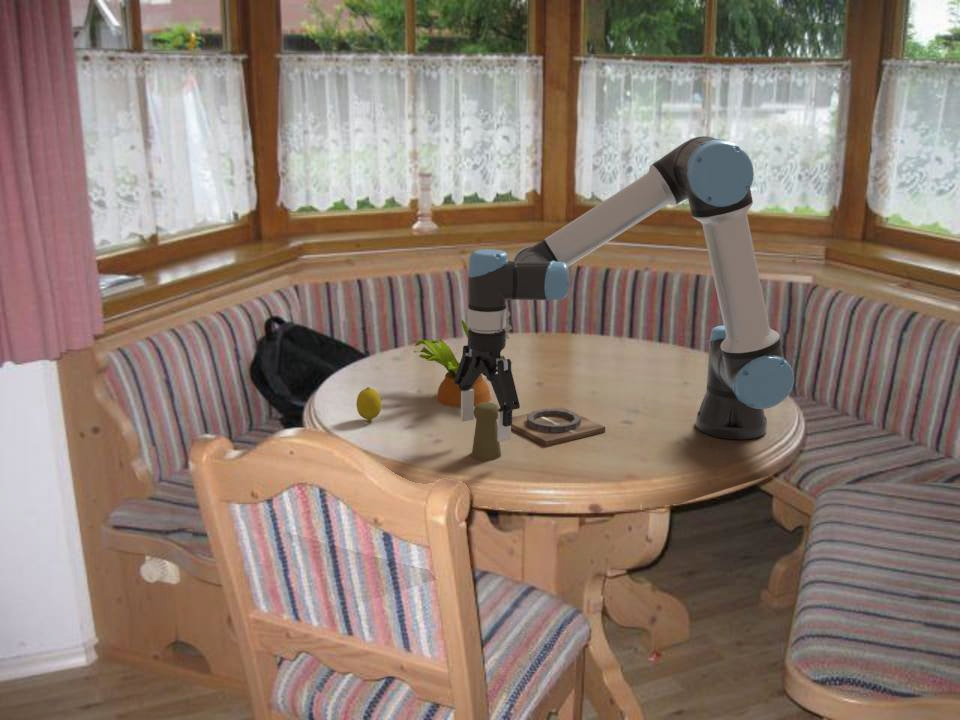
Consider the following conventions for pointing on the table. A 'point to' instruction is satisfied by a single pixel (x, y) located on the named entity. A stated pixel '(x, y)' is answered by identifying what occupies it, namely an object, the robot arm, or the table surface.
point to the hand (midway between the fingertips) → (485, 430)
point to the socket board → (555, 426)
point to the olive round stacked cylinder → (486, 432)
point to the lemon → (368, 403)
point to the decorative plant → (455, 371)
